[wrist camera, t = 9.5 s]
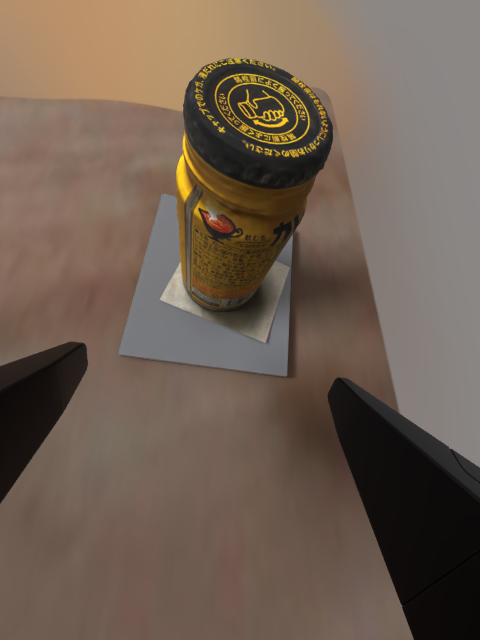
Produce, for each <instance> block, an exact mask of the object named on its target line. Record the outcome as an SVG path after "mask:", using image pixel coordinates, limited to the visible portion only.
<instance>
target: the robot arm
mask: <svg viewBox="0 0 480 640" xmlns="http://www.w3.org/2000/svg"><path fill="white" fill-rule="evenodd" d="M87 366H88V360H87V348H86V345H85V344H84V343H79V342H68V343H65V344H62V345H59V346H56V347H54V348H51V349H48V350H45V351H42V352H39V353H36V354H34V355H31V356H28V357H25V358H22V359H19V360H17V361H14V362H11V363H8V364H5V365H2V366H0V504H1V502H2V501H3V499H4V498H5V496H6V495H7V493H8V492H9V491H10V489H11V488H12V486H13V485H14V483H15V482H16V480H17V479H18V477H19V476H20V475H21V473H22V472H23V470H24V469H25V467H26V466H27V464H28V463H29V462H30V460H31V459H32V457H33V456H34V454H35V453H36V451H37V450H38V449H39V447H40V446H41V444H42V443H43V441H44V440H45V438H46V437H47V436H48V434H49V433H50V431H51V430H52V428H53V427H54V425H55V424H56V423H57V421H58V420H59V418H60V417H61V415H62V414H63V412H64V410H65V409H66V407H67V405H68V403H69V401H70V400H71V398H72V396H73V394H74V392H75V390H76V388H77V387H78V385H79V383H80V381H81V379H82V377H83V375H84V374H85V372H86V370H87ZM328 402H329V405H330V409H331V413H332V417H333V420H334V424H335V428H336V431H337V435H338V438H339V441H340V444H341V446H342V449H343V452H344V454H345V457H346V459H347V462H348V465H349V467H350V470H351V473H352V475H353V478H354V481H355V483H356V486H357V489H358V491H359V494H360V497H361V499H362V502H363V505H364V507H365V510H366V513H367V515H368V518H369V521H370V523H371V526H372V529H373V531H374V534H375V537H376V539H377V542H378V545H379V547H380V550H381V553H382V555H383V558H384V561H385V563H386V566H387V569H388V571H389V574H390V576H391V579H392V582H393V584H394V587H395V590H396V592H397V595H398V598H399V600H400V603H401V605H402V609H403V612H404V614H405V617H406V620H407V622H408V625H409V628H410V630H411V633H412V636H413V638H414V640H480V468H479V467H478V466H476V465H475V464H473V463H472V462H470V461H469V460H467V459H466V458H464V457H463V456H461V455H460V454H458V453H457V452H455V451H454V450H453V449H449V447H448V446H446V445H445V444H444V443H442V442H441V441H439V440H438V439H436V438H435V437H433V436H432V435H430V434H429V433H427V432H426V431H424V430H423V429H421V428H420V427H418V426H417V425H415V424H414V423H412V422H411V421H410V420H408V419H406V418H405V417H404V416H402V415H401V414H399V413H398V412H396V411H395V410H393V409H392V408H390V407H389V406H387V405H386V404H384V403H383V402H381V401H380V400H378V399H377V398H376V397H374V396H373V395H371V394H370V393H368V392H367V391H365V390H364V389H362V388H361V387H359V386H358V385H356V384H355V383H353V382H352V381H350V380H349V379H346V378H336V379H335V380H334V382H333V384H332V386H331V388H330V390H329V393H328Z"/></svg>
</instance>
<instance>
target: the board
mask: <svg viewBox="0 0 480 640" xmlns="http://www.w3.org/2000/svg"><path fill="white" fill-rule="evenodd" d="M176 207H177V199H176V197H175V196H171V195H167V194H163V193H162V196H161V200H160V204H159V207H158V211H157V214H156V218H155V222H154V225H153V229H152V233H151V236H150V240H149V243H148V247H147V251H146V254H145V258H144V261H143V265H142V269H141V272H140V276H139V280H138V283H137V287H136V290H135V294H134V298H133V301H132V305H131V308H130V312H129V316H128V319H127V323H126V327H125V330H124V334H123V337H122V341H121V345H120V348H119V352H118V355H120V356H125V357H133V358H140V359H148V360H156V361H163V362H171V363H179V364H186V365H194V366H202V367H209V368H217V369H224V370H232V371H240V372H247V373H255V374H263V375H270V376H278V377H287V364H288V339H289V314H290V290H291V265H292V240H293V234H292V236H291V237H290V239H289V241H288V242H287V244H286V245H285V247H284V248H283V250H282V251H281V253H280V254H279V256H278V258H277V259H276V261H277V262H280V263H282V264H284V265H286V266H288V267H290V269H289V272H288V275H287V278H286V280H285V283H284V287H283V290H282V293H281V295H280V297H279V302H278V305H277V308H276V311H275V314H274V317H273V320H272V323H271V327H270V330H269V333H268V337H267V340H266V343H264V342H262V341H259V340H257V339H255V338H252V337H250V336H247V335H244V334H241V333H239V332H237V331H234V330H232V329H229V328H227V327H225V326H223V325H220V324H217V323H214V322H212V321H210V320H207V319H205V318H203V317H199V316H197V315H195V314H192V313H190V312H188V311H185V310H183V309H180V308H178V307H176V306H173V305H171V304H169V303H166V302H164V301H162V300H160V298H161V296H162V294H163V292H164V290H165V289H166V287H167V285H168V283H169V282H170V280H171V278H172V276H173V275H174V273H175V271H176V269H177V267H178V266H179V264H180V262H181V260H180V246H179V243H180V239H179V235H178V234H179V221H178V218H177V208H176Z"/></svg>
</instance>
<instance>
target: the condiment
mask: <svg viewBox="0 0 480 640" xmlns="http://www.w3.org/2000/svg"><path fill="white" fill-rule="evenodd" d="M183 108H184V109H183V115H184V130H185V133H184V137H183V145H182V146H183V155H182V156H181V158H180V160H179V163H178V167H177V170H176V199H177V207H176V208H177V218H178V221H179V234H178V235H179V239H180V243H179V246H180V260H181V262H180V264H179V266H178V267H177V269H176V271H175V273H174V275H173V276H172V278H171V280H170V282H169V283H168V285H167V287H166V289H165V290H164V292H163V294H162V296H161V298H160V300H162V301H164V302H166V303H169V304H171V305H173V306H176V307H178V308H180V309H183V310H185V311H188V312H190V313H192V314H195V315H197V316H199V317H203V318H205V319H207V320H210V321H212V322H214V323H217V324H220V325H223V326H225V327H227V328H229V329H232V330H234V331H237V332H239V333H241V334H244V335H247V336H250V337H252V338H255V339H257V340H259V341H262V342H264V343H266V340H267V337H268V333H269V330H270V327H271V323H272V320H273V317H274V314H275V311H276V308H277V305H278V302H279V297H280V295H281V293H282V290H283V287H284V283H285V280H286V278H287V275H288V272H289V269H290V267H288V266H286V265H284V264H282V263H280V262H277V261H276V259H277V258H278V256H279V254H280V253H281V251H282V250H283V248H284V247H285V245H286V244H287V242H288V241H289V239H290V237H291V236H292V234H293V233H294V232H295V230H296V228H297V226H298V225H299V224H300V222H301V220H302V218H303V216H304V213H305V209H306V205H307V196H308V194H309V193H310V192H311V189H312V187H313V184H314V181H315V178H316V175H317V174H318V172H319V171H320V170H321V169H323V167H324V164H325V162H326V160H327V157H328V155H329V152H330V150H331V145H332V141H333V126H332V123H331V121H330V119H329V117H328V114H327V111H326V110H325V108H324V107H323V105H322V104H321V102H320V99H319V98H318V97H317V96H316V95H315V93H313V92H312V91H311V89H310V88H309V87H308V86H306V85H305V84H304V83H303V82H301V81H300V80H298V79H297V78H296V77H294V76H292V75H291V74H289V73H288V72H286V71H284V70H282V69H279V68H277V67H275V66H272V65H269V64H266V63H263V62H259V61H256V60H252V59H249V60H248V59H239V58H235V59H230V58H228V59H225V60H224V59H222V60H220V61H217V62H214V63H211V64H208V65H206V66H204V67H203V68H202V69H201V70H200V71H199V72H198V73H197V74H196V75H195V77H194V78H193V79H192V80H191V81H190V82H189V85H188V87H187V89H186V94H185V99H184V104H183Z"/></svg>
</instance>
